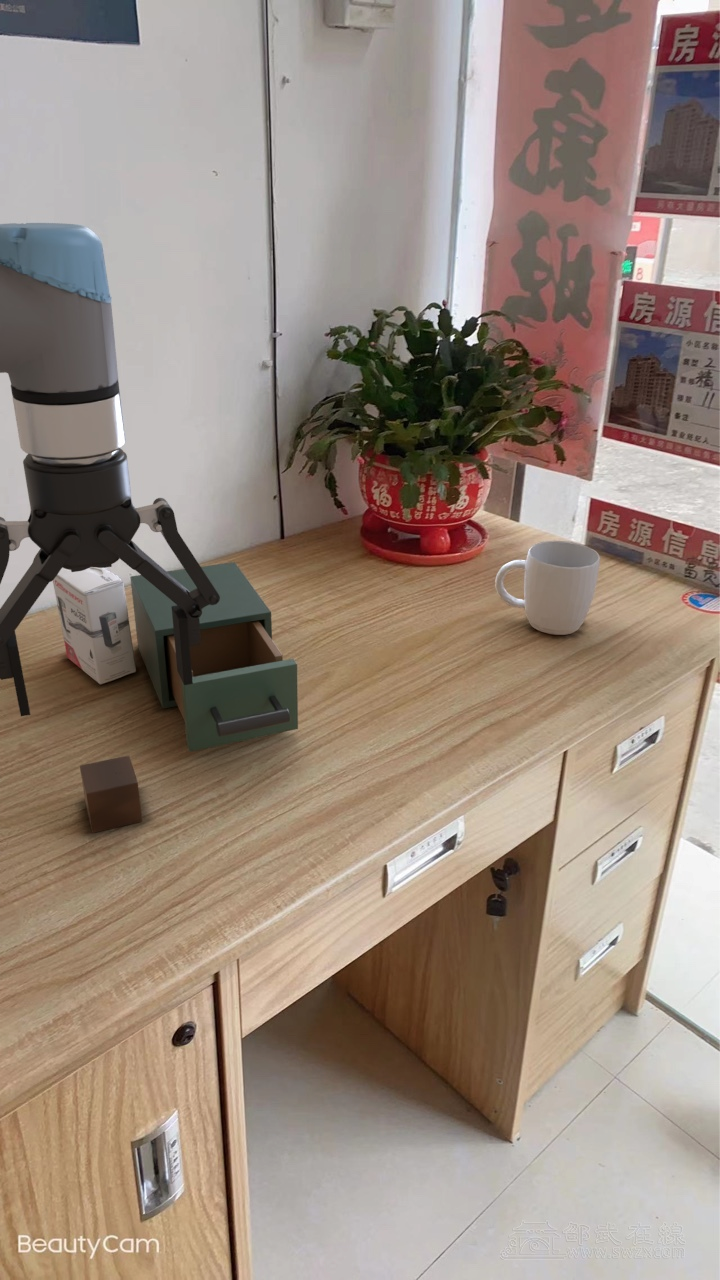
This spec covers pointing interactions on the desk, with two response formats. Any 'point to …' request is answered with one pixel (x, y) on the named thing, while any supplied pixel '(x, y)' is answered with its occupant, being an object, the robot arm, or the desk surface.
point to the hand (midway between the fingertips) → (107, 692)
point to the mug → (554, 585)
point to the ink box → (95, 622)
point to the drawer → (234, 686)
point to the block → (111, 793)
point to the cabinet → (231, 609)
